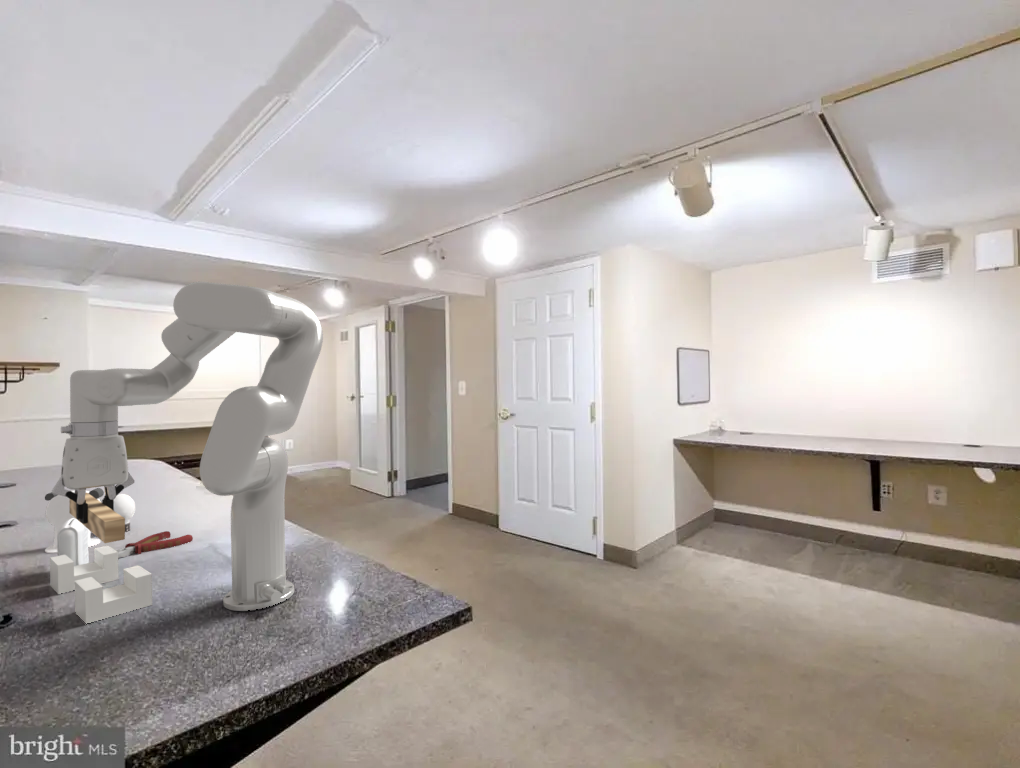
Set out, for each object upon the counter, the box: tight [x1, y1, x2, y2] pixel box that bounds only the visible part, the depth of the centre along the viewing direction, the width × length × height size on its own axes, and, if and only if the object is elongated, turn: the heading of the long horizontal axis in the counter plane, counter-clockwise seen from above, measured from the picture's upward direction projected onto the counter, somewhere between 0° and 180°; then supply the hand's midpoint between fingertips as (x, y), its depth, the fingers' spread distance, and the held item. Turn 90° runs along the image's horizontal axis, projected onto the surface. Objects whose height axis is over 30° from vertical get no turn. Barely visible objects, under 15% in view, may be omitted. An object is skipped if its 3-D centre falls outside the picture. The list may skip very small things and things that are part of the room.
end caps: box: [49, 545, 153, 625], centre depth 103 cm, size 30×10×6 cm, turn 51°
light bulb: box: [114, 493, 136, 533], centre depth 150 cm, size 7×7×11 cm
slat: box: [69, 493, 126, 544], centre depth 103 cm, size 28×3×4 cm, turn 51°
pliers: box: [116, 530, 194, 559], centre depth 131 cm, size 12×20×3 cm, turn 157°
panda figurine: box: [44, 487, 105, 554], centre depth 136 cm, size 12×11×15 cm
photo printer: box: [56, 518, 90, 566], centre depth 116 cm, size 10×4×12 cm, turn 29°
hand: (95, 519), depth 103 cm, fingers closed on slat, 3 cm apart
